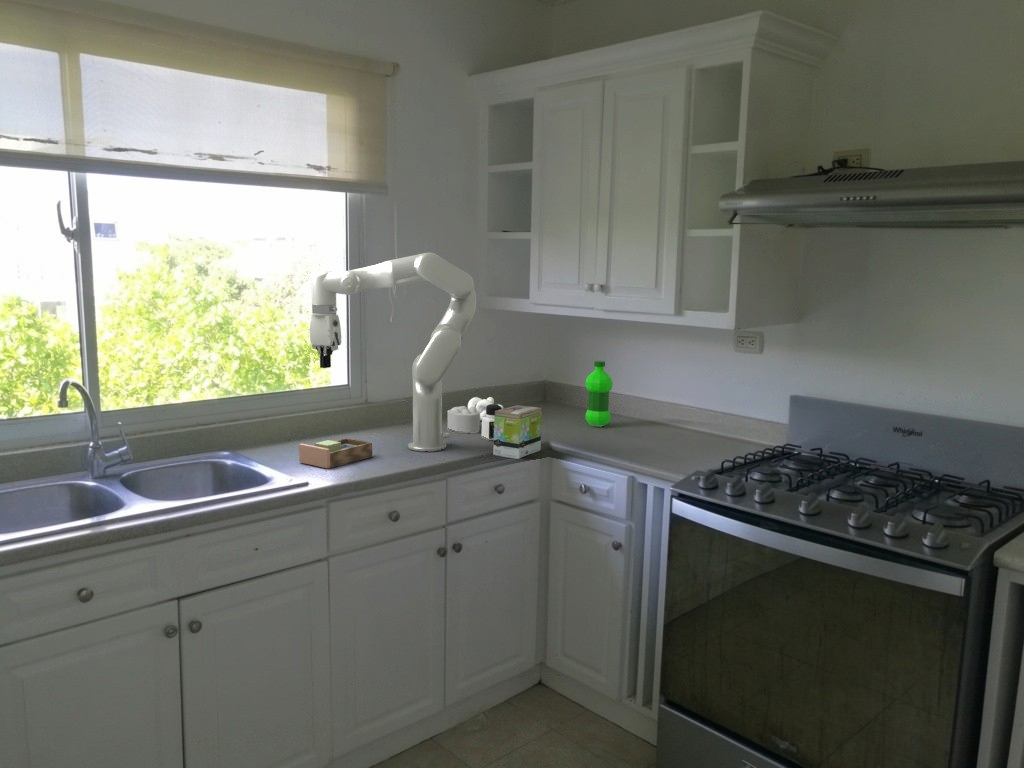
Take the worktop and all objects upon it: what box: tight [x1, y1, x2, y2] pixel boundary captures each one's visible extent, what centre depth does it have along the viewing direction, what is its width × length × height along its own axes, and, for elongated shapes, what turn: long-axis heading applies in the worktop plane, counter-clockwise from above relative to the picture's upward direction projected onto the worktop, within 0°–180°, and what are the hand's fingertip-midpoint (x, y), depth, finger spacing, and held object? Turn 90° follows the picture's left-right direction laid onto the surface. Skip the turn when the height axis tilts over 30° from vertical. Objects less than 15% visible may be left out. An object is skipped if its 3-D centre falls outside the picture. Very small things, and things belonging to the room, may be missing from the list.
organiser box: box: [329, 437, 373, 469], centre depth 245 cm, size 18×11×4 cm, turn 146°
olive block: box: [314, 439, 341, 452], centre depth 241 cm, size 6×6×4 cm
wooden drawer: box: [298, 443, 356, 469], centre depth 244 cm, size 18×12×6 cm, turn 146°
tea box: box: [492, 404, 543, 460], centre depth 257 cm, size 15×10×15 cm, turn 151°
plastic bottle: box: [585, 360, 613, 426], centre depth 302 cm, size 10×10×25 cm
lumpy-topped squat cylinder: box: [447, 405, 481, 432], centre depth 291 cm, size 10×13×9 cm
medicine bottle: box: [481, 403, 504, 439], centre depth 279 cm, size 7×7×12 cm
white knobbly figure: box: [467, 396, 495, 420], centre depth 312 cm, size 11×12×9 cm
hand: (325, 367), depth 254 cm, fingers closed
